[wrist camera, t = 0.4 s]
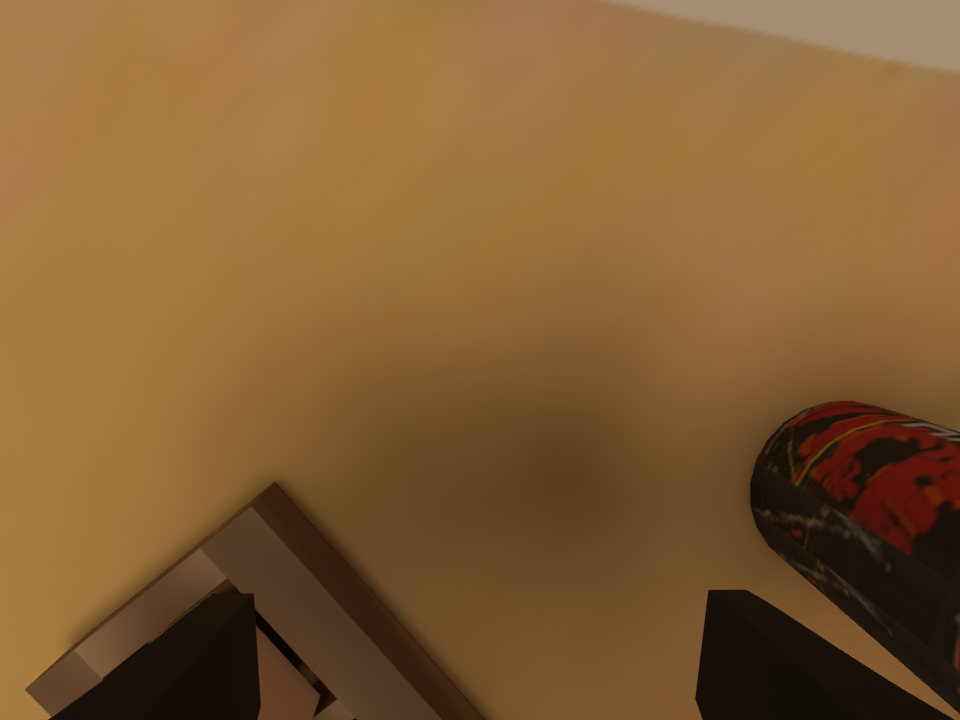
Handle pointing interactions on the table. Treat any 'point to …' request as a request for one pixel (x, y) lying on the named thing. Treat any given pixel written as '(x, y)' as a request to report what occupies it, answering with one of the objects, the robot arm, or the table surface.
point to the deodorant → (872, 526)
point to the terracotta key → (282, 685)
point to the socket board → (276, 621)
